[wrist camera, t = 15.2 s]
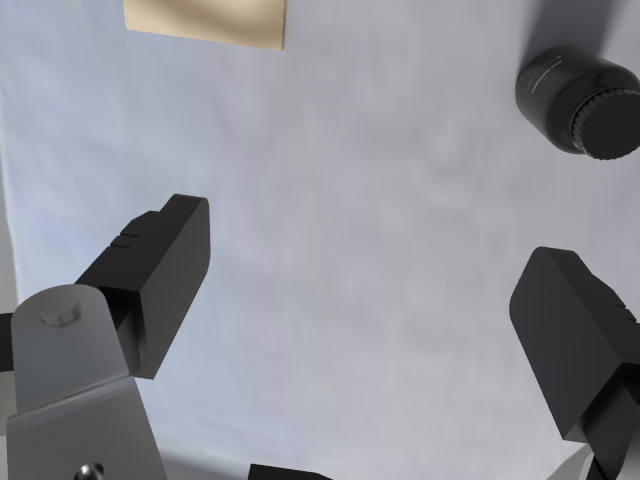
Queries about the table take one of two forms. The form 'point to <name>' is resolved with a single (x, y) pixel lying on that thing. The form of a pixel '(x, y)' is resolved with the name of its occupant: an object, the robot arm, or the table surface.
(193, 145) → the table surface
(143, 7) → the birch board
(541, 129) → the supplement bottle
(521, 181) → the table surface
